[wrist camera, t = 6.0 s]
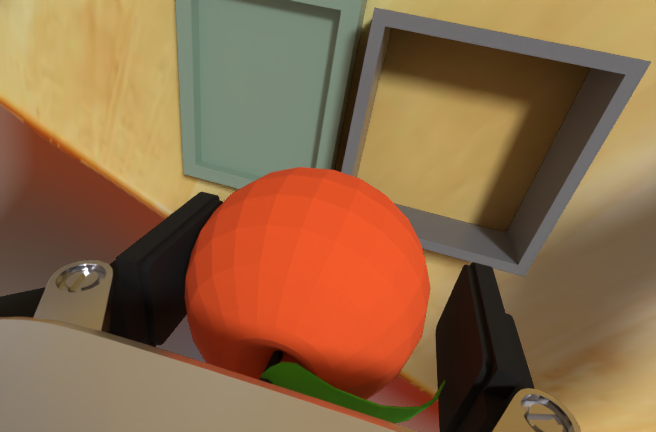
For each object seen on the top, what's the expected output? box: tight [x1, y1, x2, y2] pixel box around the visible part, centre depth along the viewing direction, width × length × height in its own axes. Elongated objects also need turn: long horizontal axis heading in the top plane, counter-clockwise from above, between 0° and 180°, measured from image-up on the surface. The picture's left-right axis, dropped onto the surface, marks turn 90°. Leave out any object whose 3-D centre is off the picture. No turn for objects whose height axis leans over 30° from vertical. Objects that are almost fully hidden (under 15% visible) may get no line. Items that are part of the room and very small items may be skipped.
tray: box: [175, 0, 367, 189], centre depth 28 cm, size 13×16×2 cm
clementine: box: [184, 167, 445, 424], centre depth 11 cm, size 8×7×7 cm
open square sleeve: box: [341, 8, 651, 277], centre depth 25 cm, size 15×15×4 cm
